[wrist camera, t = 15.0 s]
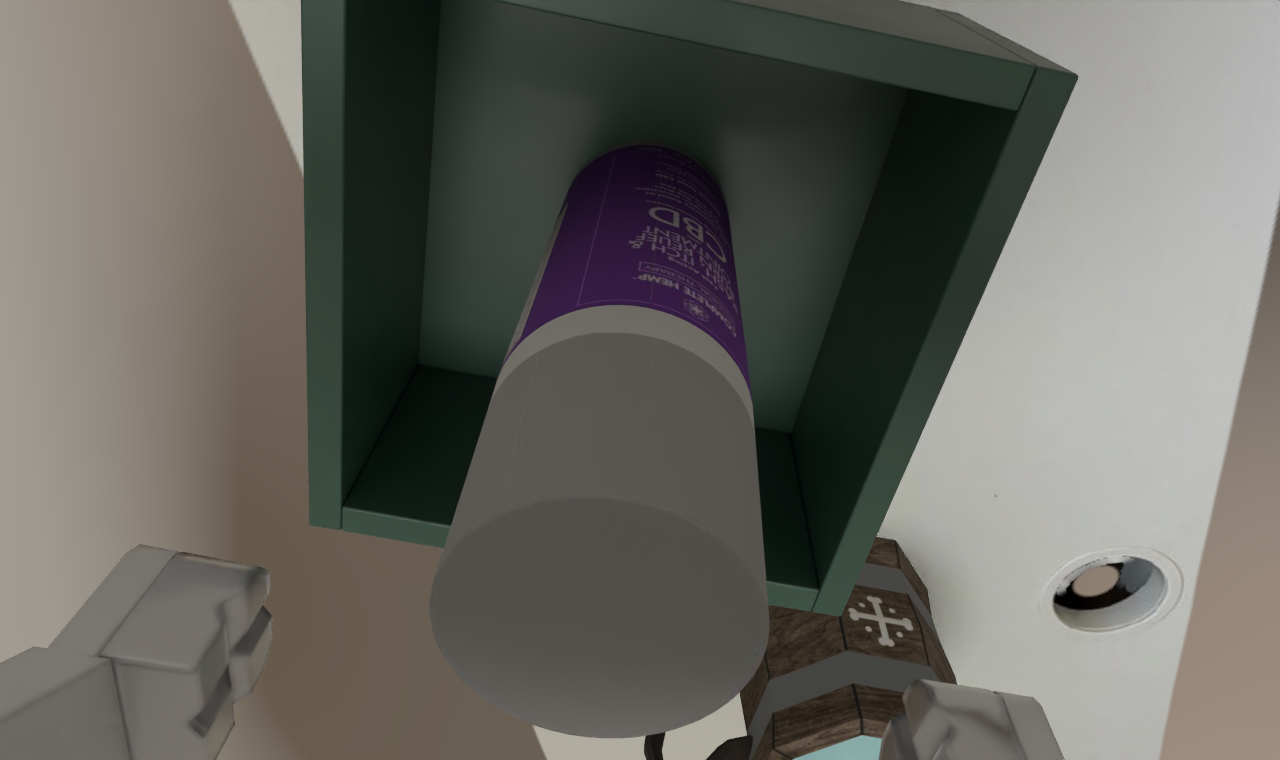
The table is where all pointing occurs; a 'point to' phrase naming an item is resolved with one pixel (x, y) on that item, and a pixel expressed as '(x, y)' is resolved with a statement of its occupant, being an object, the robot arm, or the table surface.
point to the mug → (838, 670)
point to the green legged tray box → (757, 208)
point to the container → (616, 471)
